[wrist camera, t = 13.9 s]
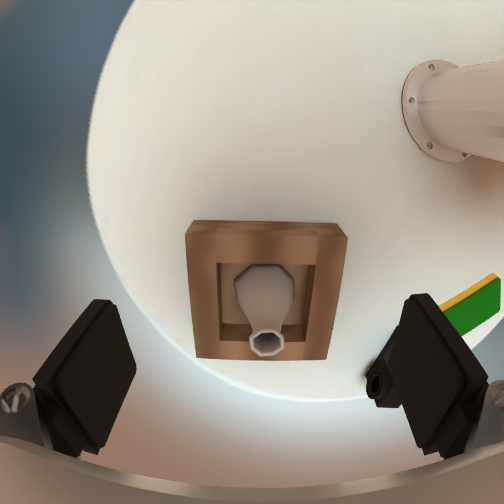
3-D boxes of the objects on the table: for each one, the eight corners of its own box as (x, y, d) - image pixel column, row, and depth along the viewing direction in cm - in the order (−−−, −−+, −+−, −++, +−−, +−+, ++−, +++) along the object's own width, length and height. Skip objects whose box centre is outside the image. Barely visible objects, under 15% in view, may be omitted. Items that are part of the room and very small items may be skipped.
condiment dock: (336, 223, 33) (347, 237, 29) (320, 337, 40) (326, 359, 35) (193, 220, 34) (184, 233, 29) (201, 335, 40) (196, 357, 36)
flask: (223, 274, 35) (211, 327, 26) (281, 250, 34) (290, 298, 24) (249, 322, 37) (247, 379, 28) (304, 301, 36) (317, 357, 27)
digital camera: (391, 322, 39) (409, 354, 32) (418, 328, 39) (437, 358, 33) (358, 374, 43) (369, 407, 36) (385, 377, 43) (398, 408, 37)
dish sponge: (424, 311, 39) (431, 320, 36) (492, 270, 36) (500, 277, 34) (429, 342, 41) (435, 352, 39) (492, 303, 38) (500, 311, 36)
